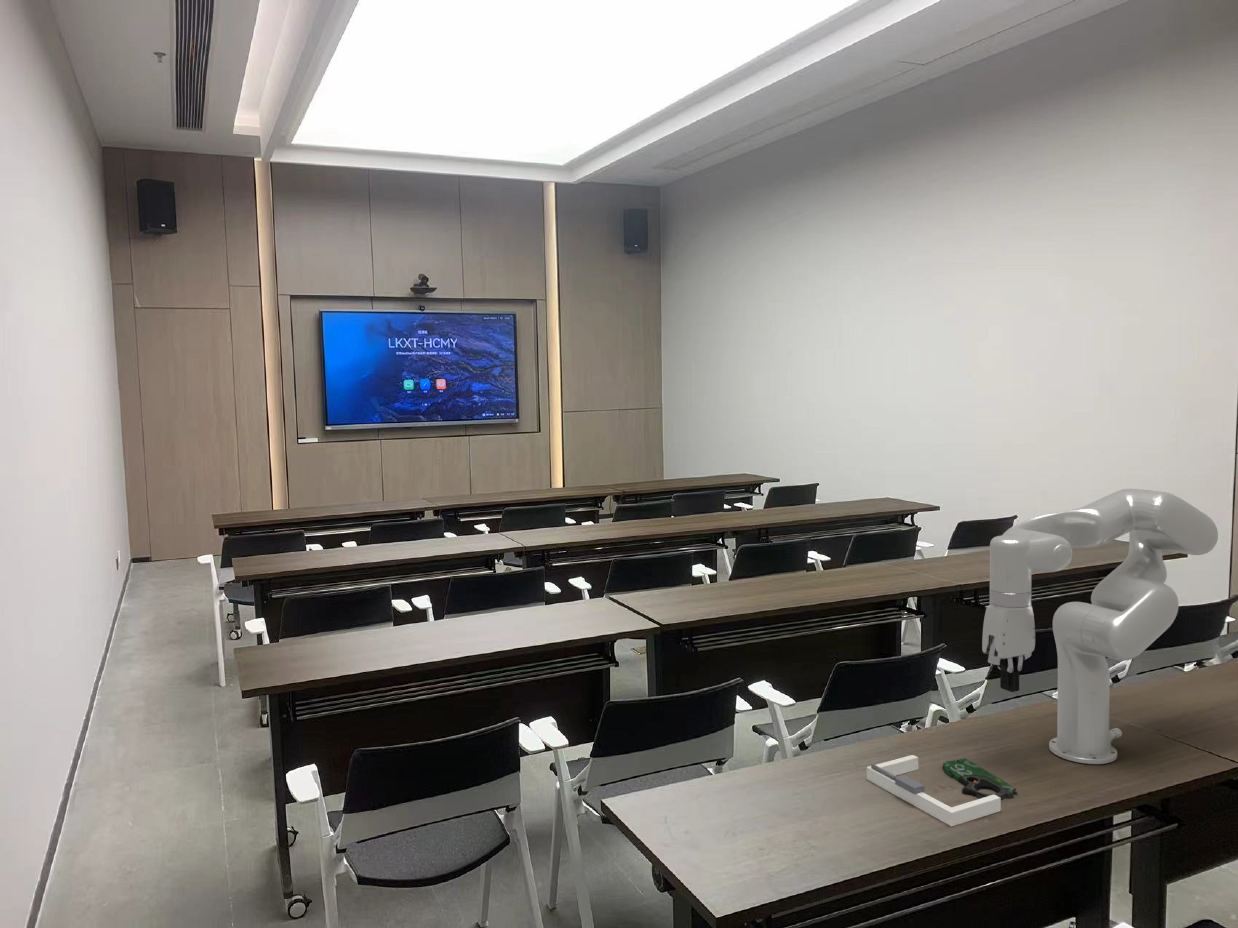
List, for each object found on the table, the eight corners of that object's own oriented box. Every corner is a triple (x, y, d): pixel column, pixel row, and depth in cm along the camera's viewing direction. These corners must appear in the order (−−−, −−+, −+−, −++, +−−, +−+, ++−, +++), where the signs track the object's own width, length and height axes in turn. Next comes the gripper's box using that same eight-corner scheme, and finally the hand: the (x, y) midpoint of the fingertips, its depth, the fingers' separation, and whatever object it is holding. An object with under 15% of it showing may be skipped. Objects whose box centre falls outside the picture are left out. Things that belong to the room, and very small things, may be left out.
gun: (926, 764, 180) (968, 757, 183) (926, 771, 180) (968, 764, 183) (978, 799, 165) (1024, 790, 167) (978, 806, 165) (1024, 798, 167)
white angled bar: (913, 766, 182) (912, 749, 181) (1000, 810, 162) (1000, 791, 162) (865, 779, 176) (864, 761, 176) (949, 827, 157) (949, 806, 156)
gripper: (1021, 590, 182) (1020, 678, 183) (967, 599, 175) (967, 690, 177) (1053, 597, 175) (1052, 688, 176) (998, 607, 169) (997, 701, 170)
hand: (1009, 689), depth 177 cm, fingers closed
